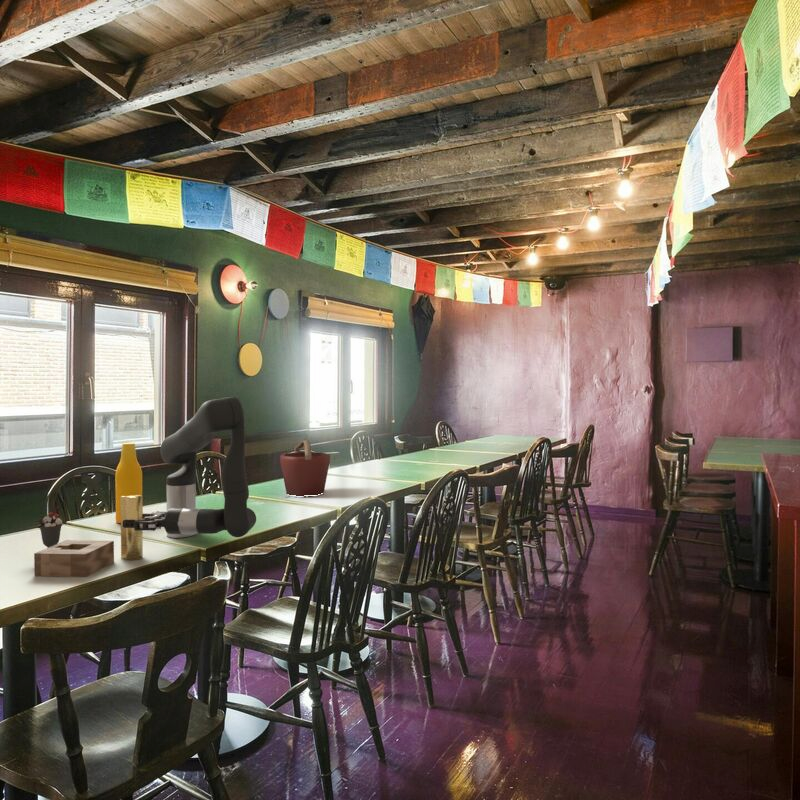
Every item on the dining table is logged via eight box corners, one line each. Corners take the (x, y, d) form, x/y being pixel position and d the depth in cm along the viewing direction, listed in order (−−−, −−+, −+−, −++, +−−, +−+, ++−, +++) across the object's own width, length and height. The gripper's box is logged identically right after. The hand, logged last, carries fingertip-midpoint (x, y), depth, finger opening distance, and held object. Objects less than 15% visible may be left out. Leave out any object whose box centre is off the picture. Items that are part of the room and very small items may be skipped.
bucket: (285, 490, 296) (285, 438, 295) (331, 489, 297) (331, 438, 297) (278, 499, 271) (278, 443, 271) (328, 498, 273) (328, 442, 272)
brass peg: (126, 555, 181) (125, 495, 180) (145, 556, 180) (144, 495, 180) (118, 559, 176) (117, 497, 176) (138, 560, 176) (137, 497, 175)
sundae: (68, 555, 180) (68, 505, 180) (56, 562, 174) (56, 509, 173) (46, 556, 180) (45, 505, 180) (33, 562, 174) (32, 510, 173)
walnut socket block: (66, 560, 175) (66, 540, 175) (114, 561, 174) (113, 540, 174) (34, 575, 161) (34, 553, 161) (85, 576, 160) (85, 554, 160)
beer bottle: (132, 524, 221) (131, 444, 221) (110, 523, 223) (109, 444, 222) (148, 519, 230) (147, 442, 230) (126, 518, 232) (125, 442, 231)
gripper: (194, 503, 184) (142, 502, 185) (174, 513, 170) (117, 512, 171) (194, 528, 184) (142, 527, 185) (174, 540, 170) (118, 539, 171)
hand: (130, 520), depth 178 cm, fingers open, 8 cm apart
